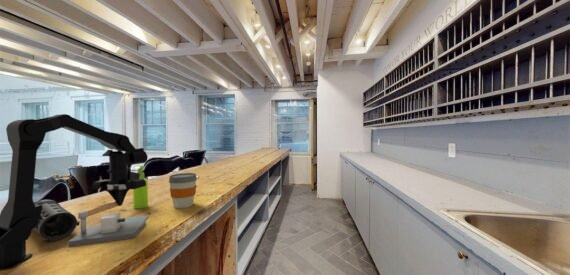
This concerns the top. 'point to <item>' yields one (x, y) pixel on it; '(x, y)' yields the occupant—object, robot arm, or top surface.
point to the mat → (136, 219)
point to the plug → (111, 223)
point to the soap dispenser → (140, 192)
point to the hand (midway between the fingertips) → (120, 205)
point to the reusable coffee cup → (183, 189)
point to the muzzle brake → (55, 221)
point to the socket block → (95, 235)
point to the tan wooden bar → (96, 210)
